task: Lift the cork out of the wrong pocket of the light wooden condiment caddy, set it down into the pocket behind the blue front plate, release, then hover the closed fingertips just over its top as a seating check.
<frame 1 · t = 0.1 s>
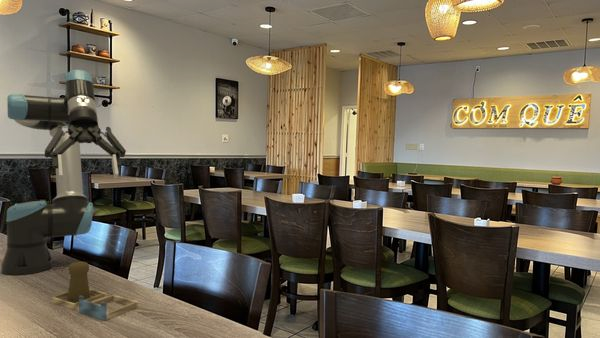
hand: (89, 177, 115), 36 cm above the table, tool tilted 35°, fingers open, 13 cm apart
cork: (78, 301, 121), resting in caddy
caddy: (94, 304, 118), on the table
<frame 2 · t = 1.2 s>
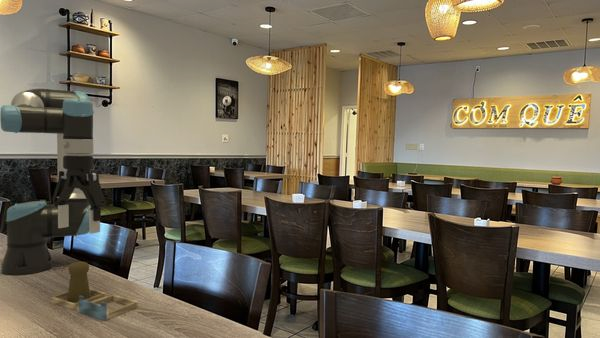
hand: (78, 230, 120), 20 cm above the table, tool pointing down, fingers open, 13 cm apart
nothing on the table moved.
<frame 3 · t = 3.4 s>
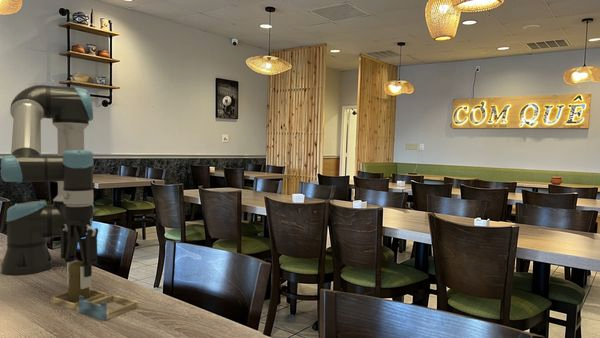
hand: (78, 285, 121), 4 cm above the table, tool pointing down, fingers closed on cork, 5 cm apart
cork: (79, 301, 121), resting in caddy, touching gripper
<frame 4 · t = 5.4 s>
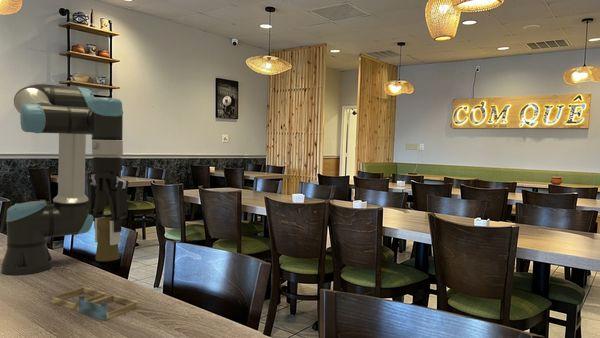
hand: (107, 242, 114), 18 cm above the table, tool pointing down, fingers closed on cork, 5 cm apart
cork: (107, 259, 114), point 14 cm above the table, touching gripper
when the fingers open (4 cm above the table, at t = 7.7 s): cork stays where it is, resting in caddy.
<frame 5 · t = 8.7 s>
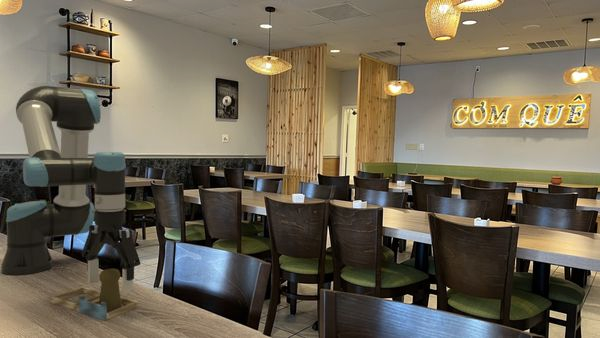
hand: (110, 287, 115), 6 cm above the table, tool pointing down, fingers open, 13 cm apart
cork: (109, 310, 115), resting in caddy
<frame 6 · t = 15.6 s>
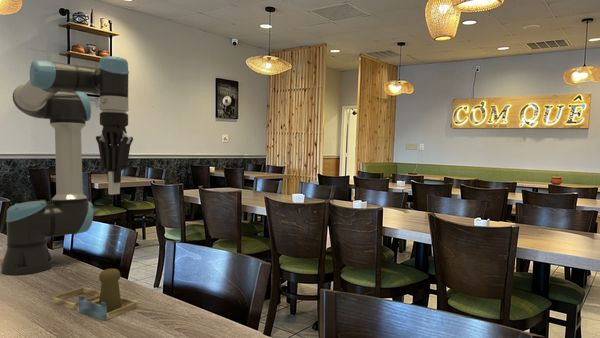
hand: (114, 193, 123), 30 cm above the table, tool pointing down, fingers closed
nothing on the table moved.
at the end: cork 0.0 cm from the target spot on the caddy, point 0.0 cm above the caddy's base; cork tilted 0°; the gripper is holding nothing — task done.
